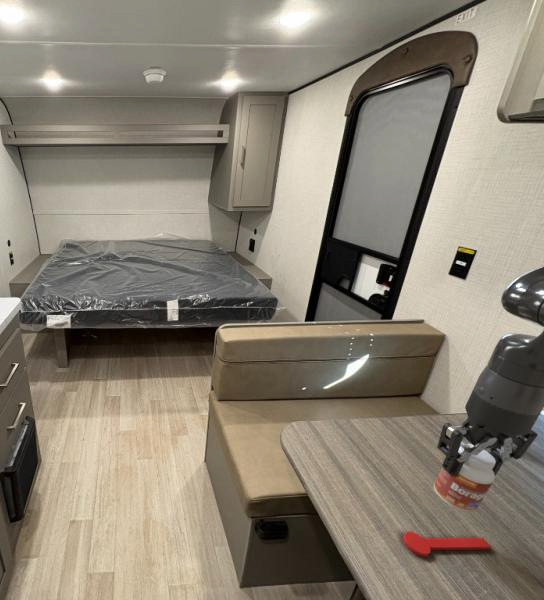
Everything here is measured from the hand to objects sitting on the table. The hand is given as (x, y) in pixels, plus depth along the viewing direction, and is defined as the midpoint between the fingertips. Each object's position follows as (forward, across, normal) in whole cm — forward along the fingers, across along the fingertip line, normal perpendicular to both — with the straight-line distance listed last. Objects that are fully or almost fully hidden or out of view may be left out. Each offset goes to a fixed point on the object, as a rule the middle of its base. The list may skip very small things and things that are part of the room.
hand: (468, 471), depth 57 cm
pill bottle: (+7, 0, 0) cm, 7 cm away
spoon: (+14, -3, -4) cm, 15 cm away
